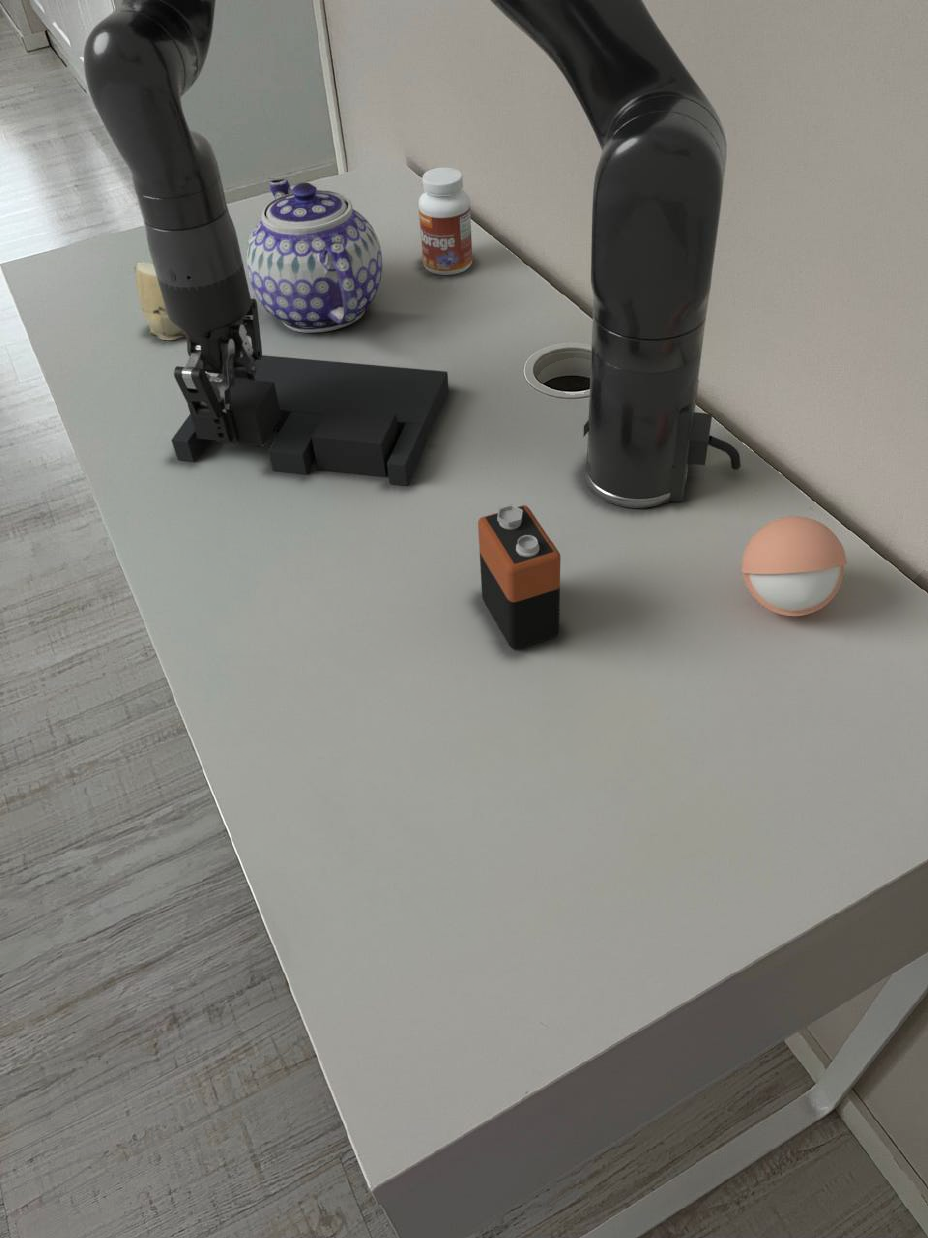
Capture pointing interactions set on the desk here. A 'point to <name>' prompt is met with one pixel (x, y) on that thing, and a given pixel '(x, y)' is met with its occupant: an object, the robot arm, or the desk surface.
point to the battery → (519, 575)
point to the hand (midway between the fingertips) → (239, 423)
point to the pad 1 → (246, 412)
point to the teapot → (313, 259)
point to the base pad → (340, 385)
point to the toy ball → (793, 566)
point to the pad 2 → (355, 441)
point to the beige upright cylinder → (154, 303)
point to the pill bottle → (445, 222)
